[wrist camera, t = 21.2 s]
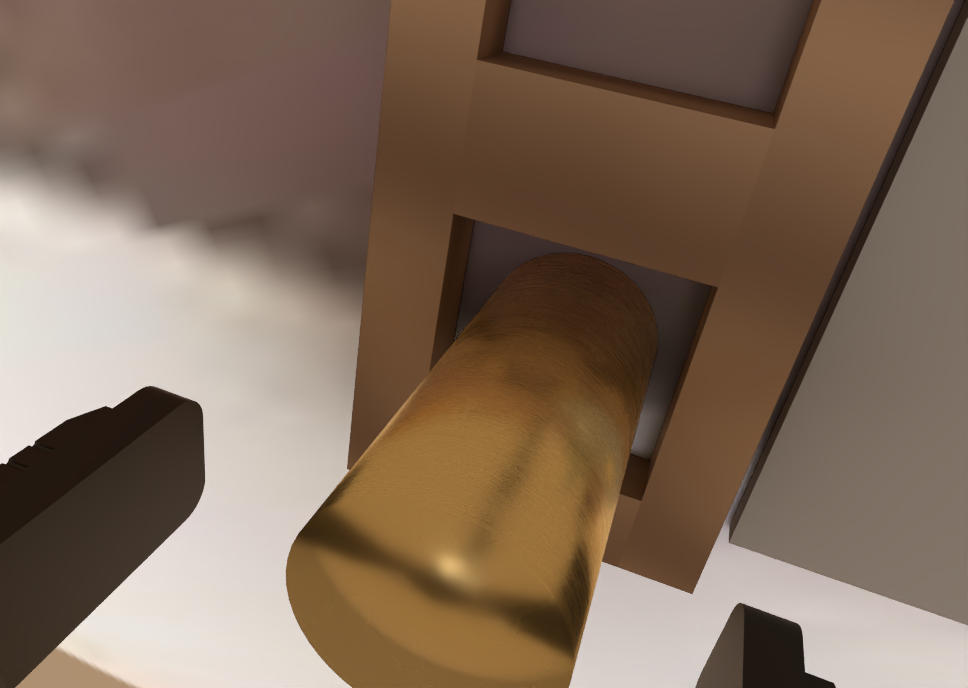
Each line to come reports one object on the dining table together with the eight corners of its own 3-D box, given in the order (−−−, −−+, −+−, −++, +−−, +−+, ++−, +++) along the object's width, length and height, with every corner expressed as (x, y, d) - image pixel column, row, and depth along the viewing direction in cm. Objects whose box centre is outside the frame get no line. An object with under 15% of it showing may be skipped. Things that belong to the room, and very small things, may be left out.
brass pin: (518, 225, 16) (312, 447, 9) (687, 297, 16) (624, 599, 8) (468, 367, 18) (267, 647, 11) (616, 434, 18) (513, 777, 10)
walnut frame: (478, -476, 12) (441, -535, 10) (1113, -426, 10) (1171, -490, 8) (374, 435, 20) (347, 468, 19) (696, 548, 19) (692, 594, 17)
